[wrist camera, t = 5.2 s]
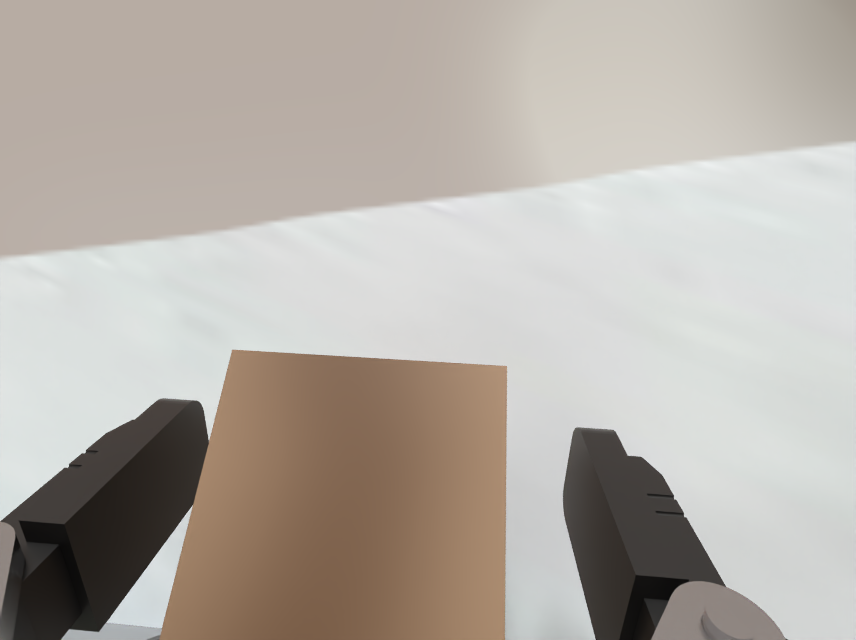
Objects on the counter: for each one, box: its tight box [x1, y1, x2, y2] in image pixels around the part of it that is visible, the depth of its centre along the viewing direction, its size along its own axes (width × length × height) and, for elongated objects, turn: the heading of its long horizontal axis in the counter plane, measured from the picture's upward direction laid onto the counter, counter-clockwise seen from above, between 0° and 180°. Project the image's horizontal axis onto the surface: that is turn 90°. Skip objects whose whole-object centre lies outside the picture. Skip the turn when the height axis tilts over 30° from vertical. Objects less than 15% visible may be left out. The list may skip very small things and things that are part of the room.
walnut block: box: [159, 350, 507, 640], centre depth 10 cm, size 4×4×8 cm
